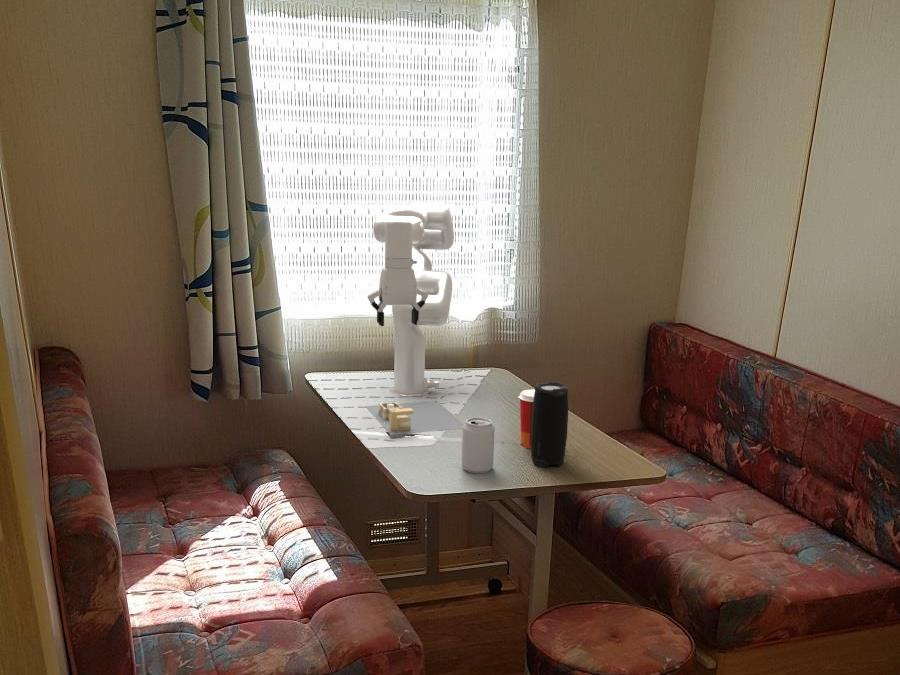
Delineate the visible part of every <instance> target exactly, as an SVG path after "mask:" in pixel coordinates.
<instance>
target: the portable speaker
mask: <svg viewBox="0 0 900 675" xmlns="http://www.w3.org/2000/svg"><path fill="white" fill-rule="evenodd" d="M533 390H535V394H534V400H533V406H532V421H531V448H530V455H531V456H530V458H531V460H532V463H533V465H534V466H536V467H539V468H544V469H546V468H547V467H548V466H551V465H557V466H558V467H562V466H563V465H564V464H565V463H564V459H565V454H566V446H567V440H568V439H567V438H568V426H569V425H568V424H569V396H568V394H569V393H568V392H569V389H568V387H567V386H566V385H565V384H564V383H563V382H561V381H548V382H542V383H538V382H536V383H535V385H534V388H533Z"/></svg>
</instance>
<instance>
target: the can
mask: <svg viewBox="0 0 900 675" xmlns="http://www.w3.org/2000/svg"><path fill="white" fill-rule="evenodd" d="M464 424H465V425H464V426H463V428H462V444H461V445H462V447H461V448H462V449H461V466H462V468H463V469H464V470H465V471H467V472H468V473H471V474H486V473H488V472H490V470H492V469H493V468H494V453H495V431H496V430H495V429H496V428H495V426H494V425H493V421H492V420H491V419H489V418H485V417H469V418H467V419H466V420H465V423H464Z"/></svg>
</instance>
